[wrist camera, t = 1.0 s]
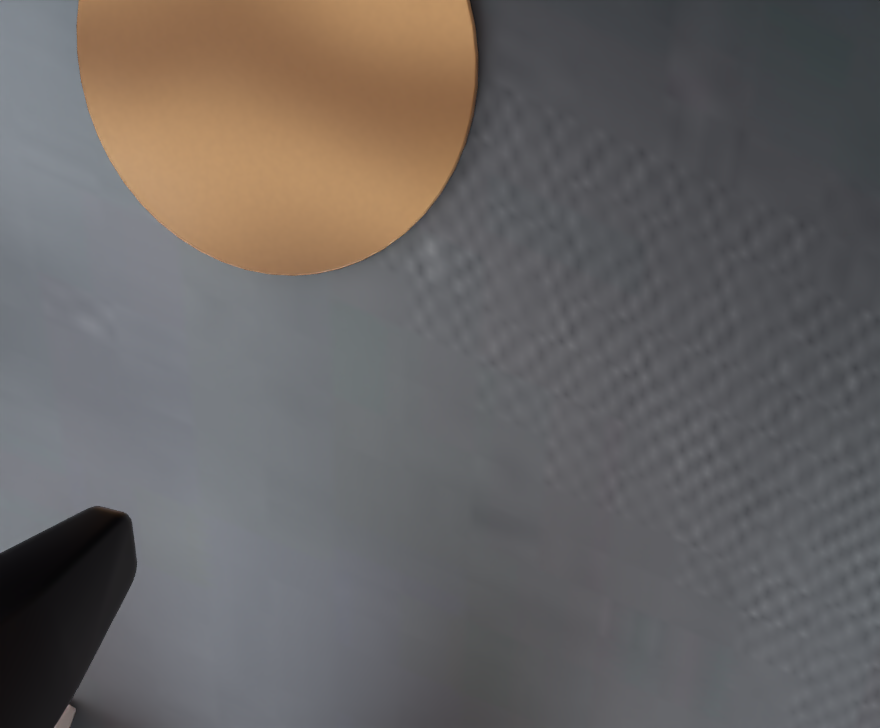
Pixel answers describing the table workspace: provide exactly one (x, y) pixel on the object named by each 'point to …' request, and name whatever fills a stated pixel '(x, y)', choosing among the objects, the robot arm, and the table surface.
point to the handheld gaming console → (66, 718)
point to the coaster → (281, 119)
